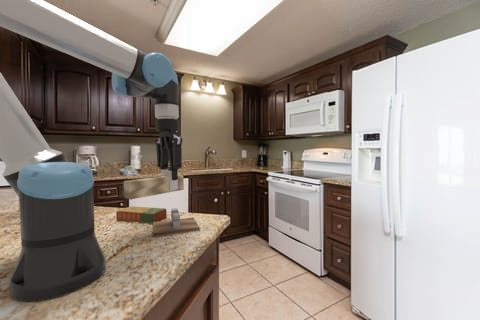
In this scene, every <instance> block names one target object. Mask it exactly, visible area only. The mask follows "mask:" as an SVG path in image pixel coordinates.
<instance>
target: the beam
mask: <svg viewBox="0 0 480 320" xmlns="http://www.w3.org/2000/svg"><path fill="white" fill-rule="evenodd" d="M184 184H185V181H184V175H183V174H178V189H177V190H171V191H170V190H169V176H162V175H161V176H154V177H153V176H152V177H145V178H137V179H130V180H124V181H123V193H124V198H125V199H127V200H136V199H141V198H146V197H150V196H151V197H152V196H156V195H157V196H158V195H162V194H167V193H172V192H173V193H174V192H180V191H183V190H185V188H184V187H185V185H184Z"/></svg>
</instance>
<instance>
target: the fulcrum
mask: <svg viewBox="0 0 480 320" xmlns="http://www.w3.org/2000/svg"><path fill="white" fill-rule="evenodd" d="M170 214H171V215H170V216H171V217H170V219H167V220H161V221H157V222H153V224H152V228H153V229H152V230H153V232H152V233H153V235H152V236H153V237H162V236H168V235H175V234H176V235H177V234H183V233H184V234H185V233H191V232H192V233H193V232H199V231H200V229H201V228H200V226H199V224H198V223H197V220H196V219H195V218H194V217H187V218H186V217H185V218H181V215H180V212H179V209H178V208H176V207H175V208H171V209H170Z"/></svg>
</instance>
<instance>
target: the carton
mask: <svg viewBox="0 0 480 320" xmlns="http://www.w3.org/2000/svg"><path fill="white" fill-rule="evenodd" d="M115 214H116V222H120V221H125V222H124V223H133V222H138V223H137V224H145V223H148V224H147V225H153V222H157V221H164V220H165V219H167V218H168V217H167V216H168V214H167V208H165V207H164V208H163V207H148V206H147V207H146V206H132V205H131V206H128V207H124V208H122V209H119V210H116V213H115Z"/></svg>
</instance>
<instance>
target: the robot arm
mask: <svg viewBox="0 0 480 320" xmlns="http://www.w3.org/2000/svg"><path fill="white" fill-rule="evenodd" d="M0 27H1V28H4V29H6V30H9V31H10V32H14V33H16V34H19V35H20V36H23V37H26V38H28V39H30V40H32V41H35V42H37V43H40V44H42V45H43V46H47V47H50V48H52V49H55V50H57V51H59V52H61V53H64V54H67V55H69V56H72V57H74V58H76V59H78V60H81V61H83V62H85V63H89V64H91V65H93V66H96V67H98V68H100V69H103V70H105V71H108V72H110V73H111V89H112V91H113V92H114V93H115V94H116V95H121V96H125V97H132V98H133V97H134V98H140V99H141V98H142V99H149V100H153V101H154V118H156V119H155V131H156V132H159V138H156V139H154V142H155V146H156V149H155V150H156V165H157V168H159V169H160V170H161V176H169V190H170V191H171V190H177V189H178V175H179V174H178V173H179V172H178V170H180V169H182V168H183V165H182V163H183V162H182V160H183V159H182V158H183V157H182V155H183V153H182V144H183V137H178V133H177V132H179V131H180V119H179V118H180V113H179V112H180V110H179V109H180V108H179V79H178V74H177V73H176V72H175V71H174V68H173V65H172V62H171V61H170V59H169V58H168V57H167V56H166V55H164V54H163V53H160V52H150V53H146V52H143V51H141V50H140V49H138V48H135V47H133V46H132V45H130V44H127V43H126V42H124V41H121V40H120V39H118V38H116V37H114V36H113V35H110V34H108V33H107V32H104V31H103V30H101V29H99V28H97V27H94V26H93V25H91V24H89V23H87V22H85V21H83V20H82V19H80V18H78V17H76V16H73V15H72V14H69V13H68V12H66V11H64V10H62V9H61V8H58V7H57V6H54V5H52V4H50V3H49V2H47V1H45V0H0ZM8 83H9V82H8V81H6V79H5V77H4V76H3V74H2V73H1V72H0V159H1V161H2V162H3V163H4V164H5V168H4V170H3V173H2V177H3V178H4V179H5V181H6V182H7V183H8V185H9V186H10V187H11V188H12V190H13V191H14V192H15V194H16V195H17V197H18V202H19V203H18V204H19V218H20V219H19V220H20V241H21V242H20V243H21V248H20V252H19V255H18V258H17V260H16V264H15V266H14V269H13V272H12V274H11V278H10V280H9V295H10V297H11V298H12V299H14V300H17V301H21V302H36V301H38V302H39V301H44V300H48V299H53V298H57V297H61V296H64V295H67V294H69V293H72V292H75V291H77V290H79V289H82V288H85V286H88V285H90V284H91V283H93V282H95V281H97V279H99V278H100V277H101V276H102V275H103V273H104V272H105V270H106V257H105V254H104V252H103V251H102V247H101V245H100V242H99V241H98V239H97V237H96V234H95V232H96V231H95V203H94V202H95V201H94V199H95V198H94V197H95V196H94V183H95V178H94V175H93V169H92V168H91V166H89V165H87V164H85V163H81V162H73V161H68V160H67V158H66V157H65V155H64V153H63V152H62V151H61V150H60V151H59V150H56V149H53V148H51V147H50V145H49V144H48V142H47V141H46V140H45V138H44V136H43V135H42V133H41V132H40V130H39V129H38V127H37V125H36V124H35V122H34V121H33V120H32V118H31V116H30V115H29V114H28V112H27V110H26V109H25V108H24V106H23V104H22V103H21V102H20V100H19V98H18V97H17V96H16V94H15V92H14V91H13V89H12V87H11V86H10V85H9V84H8Z"/></svg>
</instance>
